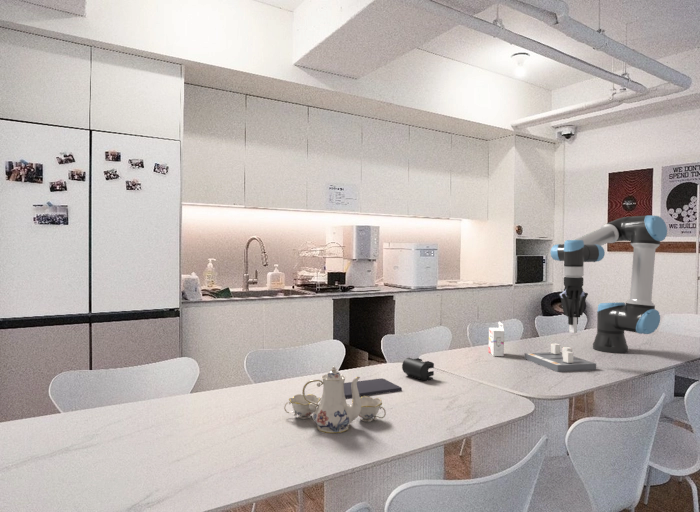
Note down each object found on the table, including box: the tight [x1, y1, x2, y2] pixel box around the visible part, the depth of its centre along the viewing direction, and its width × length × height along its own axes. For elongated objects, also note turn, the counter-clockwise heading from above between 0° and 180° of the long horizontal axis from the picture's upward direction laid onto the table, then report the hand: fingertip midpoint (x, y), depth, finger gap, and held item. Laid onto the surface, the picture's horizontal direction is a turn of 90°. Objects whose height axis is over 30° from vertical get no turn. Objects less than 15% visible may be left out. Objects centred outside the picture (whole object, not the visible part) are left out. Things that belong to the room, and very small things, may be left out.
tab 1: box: [550, 342, 561, 354], centre depth 209 cm, size 2×3×4 cm
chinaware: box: [283, 366, 387, 434], centre depth 130 cm, size 28×17×17 cm, turn 91°
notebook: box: [344, 378, 403, 399], centre depth 161 cm, size 13×2×21 cm
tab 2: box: [561, 346, 573, 357], centre depth 202 cm, size 2×3×4 cm
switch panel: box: [523, 351, 597, 373], centre depth 201 cm, size 18×22×3 cm
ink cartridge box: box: [488, 321, 505, 357], centre depth 217 cm, size 9×5×15 cm, turn 179°
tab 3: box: [563, 351, 575, 363], centre depth 194 cm, size 2×3×4 cm
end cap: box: [401, 357, 435, 382], centre depth 176 cm, size 10×7×7 cm
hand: (573, 332), depth 201 cm, fingers closed
